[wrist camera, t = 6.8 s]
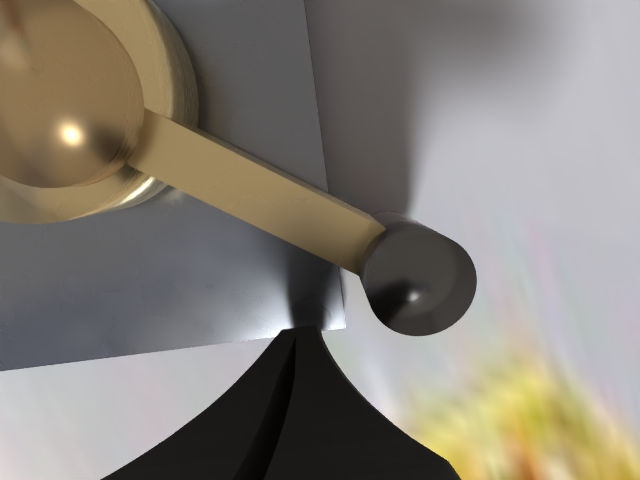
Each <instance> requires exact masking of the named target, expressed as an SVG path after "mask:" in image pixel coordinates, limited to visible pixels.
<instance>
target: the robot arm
mask: <svg viewBox="0 0 640 480" xmlns="http://www.w3.org/2000/svg"><path fill="white" fill-rule="evenodd" d="M101 480H461V479H460V477H459V476H458V474H457V473H456V471H455V470H454V468H453V467H452V466H451V464H450V463H449V462H448V461H447V460H446V459H444V458H442V457H441V456H439V455H438V454H436V453H435V452H433V451H431V450H430V449H428V448H427V447H425V446H424V445H422V444H420V443H419V442H417V441H416V440H414V439H412V438H411V437H410V436H408V435H407V434H406V433H404V432H403V431H402V430H401V429H399V428H398V427H397V426H395V425H394V424H393V423H392V422H391V421H389V420H388V419H387V418H386V417H385V416H384V415H383V414H381V413H380V412H379V411H378V410H377V409H376V408H375V407H373V406H372V405H371V404H370V403H369V402H368V401H367V400H366V399H365V398H364V397H363V396H362V395H361V394H360V393H359V391H358V390H357V389H356V388H355V387H354V386H353V385H352V383H351V382H350V381H349V380H348V379H347V377H346V376H345V375H344V373H343V372H342V370H341V369H340V368H339V366H338V365H337V363H336V362H335V360H334V359H333V357H332V355H331V353H330V352H329V350H328V348H327V346H326V344H325V342H324V340H323V337H322V333H321V327H319V326H318V325H312V326H304V327H296V328H289V329H282V330H281V331H280V332H279V333H278V335H277V336H276V337H275V338H274V340H273V341H272V342H271V343H270V344H269V346H268V347H267V348H266V349H265V351H264V352H263V353H262V354H261V355H260V357H259V358H258V359H257V360H256V361H255V362H254V364H253V365H252V366H251V367H250V368H249V369H248V370H247V371H246V372H245V373H244V374H243V375H242V376H241V377H240V378H239V379H238V380H237V381H236V382H235V383H234V384H233V385H232V386H231V387H230V388H229V389H228V390H227V391H226V392H225V393H224V394H223V395H222V396H221V397H219V398H218V399H217V400H216V401H215V402H214V403H212V404H211V405H210V406H209V407H208V408H207V409H205V410H204V411H203V412H202V413H200V414H199V415H198V416H196V417H195V418H194V419H192V420H191V421H190V422H188V423H187V424H186V425H184V426H183V427H182V428H180V429H179V430H178V431H177V432H175V433H174V434H173V435H171V436H170V437H168V438H167V439H165V440H164V441H162V442H161V443H159V444H158V445H156V446H155V447H153V448H152V449H150V450H149V451H147V452H146V453H144V454H143V455H141V456H139V457H138V458H136V459H135V460H133V461H132V462H130V463H128V464H127V465H125V466H123V467H122V468H120V469H118V470H117V471H115V472H113V473H112V474H110V475H108V476H106V477H104V478H103V479H101Z"/></svg>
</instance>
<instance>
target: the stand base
mask: <svg viewBox="0 0 640 480" xmlns="http://www.w3.org/2000/svg"><path fill="white" fill-rule="evenodd" d="M153 1H154V2H155V3H156V4H157V5H158V6H159V7H160V8H161V10H162V11H163V12H164V13H165V15H166V16H167V17H168V19H169V20H170V21H171V23H172V24H173V26H174V28H175V29H176V31H177V33H178V34H179V36H180V38H181V39H182V42H183V44H184V46H185V48H186V50H187V53H188V55H189V58H190V61H191V64H192V67H193V70H194V74H195V79H196V84H197V90H198V102H199V110H198V124H197V128H199V129H201V130H203V131H205V132H207V133H209V134H211V135H213V136H215V137H217V138H219V139H221V140H223V141H225V142H227V143H229V144H231V145H233V146H234V147H236V148H238V149H240V150H242V151H244V152H246V153H248V154H250V155H252V156H254V157H256V158H258V159H260V160H262V161H264V162H266V163H268V164H270V165H272V166H274V167H276V168H278V169H280V170H282V171H284V172H286V173H288V174H290V175H292V176H294V177H296V178H298V179H300V180H302V181H304V182H306V183H308V184H310V185H312V186H314V187H316V188H318V189H320V190H322V191H324V192H326V193H328V194H329V192H328V184H327V177H326V169H325V161H324V153H323V145H322V138H321V130H320V122H319V114H318V107H317V99H316V91H315V83H314V75H313V68H312V60H311V52H310V44H309V36H308V29H307V21H306V13H305V5H304V0H153ZM312 325H318V326H319V327H321V331H326V330H334V329H342V328H346V325H345V317H344V309H343V301H342V293H341V286H340V278H339V270H338V265H335V264H333V263H331V262H329V261H327V260H325V259H323V258H321V257H319V256H317V255H315V254H312V253H310V252H308V251H306V250H304V249H302V248H300V247H298V246H296V245H294V244H292V243H289V242H287V241H285V240H283V239H281V238H279V237H277V236H275V235H273V234H271V233H269V232H266V231H264V230H262V229H260V228H258V227H256V226H254V225H252V224H250V223H248V222H246V221H243V220H241V219H239V218H237V217H235V216H233V215H231V214H229V213H227V212H225V211H223V210H220V209H218V208H216V207H214V206H212V205H210V204H208V203H206V202H204V201H202V200H200V199H197V198H195V197H193V196H191V195H189V194H187V193H185V192H183V191H181V190H179V189H177V188H174V187H172V186H170V185H168V186H167V187H165V188H164V189H163V190H162V191H161V192H159V193H158V194H157V195H155V196H153V197H152V198H150V199H149V200H147V201H145V202H142V203H140V204H138V205H136V206H132V207H129V208H125V209H121V210H116V211H111V212H106V213H101V214H96V215H91V216H86V217H81V218H75V219H70V220H65V221H60V222H53V223H45V224H18V223H11V222H3V221H0V371H6V370H14V369H22V368H30V367H38V366H46V365H54V364H62V363H70V362H78V361H86V360H94V359H102V358H110V357H118V356H126V355H134V354H142V353H150V352H158V351H166V350H174V349H182V348H190V347H198V346H206V345H214V344H222V343H230V342H238V341H246V340H254V339H262V338H270V337H276V336H277V335H278V333H279V332H280V331H281V330H282V329H289V328H296V327H304V326H312Z"/></svg>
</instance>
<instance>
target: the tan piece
mask: <svg viewBox="0 0 640 480" xmlns="http://www.w3.org/2000/svg"><path fill="white" fill-rule="evenodd" d="M198 110H199V102H198V90H197V84H196V79H195V74H194V70H193V67H192V64H191V61H190V58H189V55H188V53H187V50H186V48H185V46H184V44H183V42H182V39H181V38H180V36H179V34H178V33H177V31H176V29H175V28H174V26H173V24H172V23H171V21H170V20H169V19H168V17H167V16H166V15H165V13H164V12H163V11H162V10H161V8H160V7H159V6H158V5H157V4H156V3H155V2H154V1H153V0H0V221H3V222H11V223H18V224H45V223H53V222H60V221H65V220H70V219H75V218H81V217H86V216H91V215H96V214H101V213H106V212H111V211H116V210H121V209H125V208H129V207H132V206H136V205H138V204H140V203H142V202H145V201H147V200H149V199H150V198H152V197H153V196H155V195H157V194H158V193H159V192H161V191H162V190H163V189H164V188H165V187H167V186H168V185H170V186H172V187H174V188H177V189H179V190H181V191H183V192H185V193H187V194H189V195H191V196H193V197H195V198H197V199H200V200H202V201H204V202H206V203H208V204H210V205H212V206H214V207H216V208H218V209H220V210H223V211H225V212H227V213H229V214H231V215H233V216H235V217H237V218H239V219H241V220H243V221H246V222H248V223H250V224H252V225H254V226H256V227H258V228H260V229H262V230H264V231H266V232H269V233H271V234H273V235H275V236H277V237H279V238H281V239H283V240H285V241H287V242H289V243H292V244H294V245H296V246H298V247H300V248H302V249H304V250H306V251H308V252H310V253H312V254H315V255H317V256H319V257H321V258H323V259H325V260H327V261H329V262H331V263H333V264H335V265H338V266H340V267H342V268H344V269H346V270H348V271H350V272H352V273H354V274H356V275H358V276H359V277H360V280H361V283H362V285H363V288H364V290H365V293H366V296H367V298H368V301H369V304H370V306H371V308H372V310H373V312H374V314H375V315H376V317H377V318H378V319H379V320H380V321H381V322H382V323H383V324H384V325H385V326H387V327H388V328H390V329H391V330H393V331H395V332H398V333H401V334H404V335H410V336H426V335H431V334H435V333H438V332H441V331H443V330H445V329H447V328H448V327H450V326H452V325H453V324H454V323H456V322H457V321H458V320H459V319H460V318H461V317H462V316H463V315H464V314H465V312H466V311H467V310H468V308H469V306H470V305H471V303H472V300H473V298H474V295H475V291H476V285H477V277H476V270H475V267H474V264H473V262H472V260H471V258H470V256H469V255H468V253H467V252H466V251H465V250H464V249H463V247H461V246H460V245H459V244H458V243H456V242H455V241H453V240H451V239H449V238H447V237H445V236H444V235H442V234H440V233H438V232H436V231H434V230H432V229H430V228H428V227H426V226H424V225H422V224H420V223H418V222H417V221H415V220H413V219H411V218H409V217H407V216H405V215H403V214H401V213H398V212H394V211H381V212H377V213H374V214H372V215H369V214H367V213H365V212H363V211H361V210H359V209H357V208H355V207H353V206H351V205H349V204H347V203H345V202H343V201H341V200H339V199H337V198H335V197H333V196H332V195H330V194H328V193H326V192H324V191H322V190H320V189H318V188H316V187H314V186H312V185H310V184H308V183H306V182H304V181H302V180H300V179H298V178H296V177H294V176H292V175H290V174H288V173H286V172H284V171H282V170H280V169H278V168H276V167H274V166H272V165H270V164H268V163H266V162H264V161H262V160H260V159H258V158H256V157H254V156H252V155H250V154H248V153H246V152H244V151H242V150H240V149H238V148H236V147H234V146H233V145H231V144H229V143H227V142H225V141H223V140H221V139H219V138H217V137H215V136H213V135H211V134H209V133H207V132H205V131H203V130H201V129H199V128H197V124H198Z"/></svg>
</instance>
